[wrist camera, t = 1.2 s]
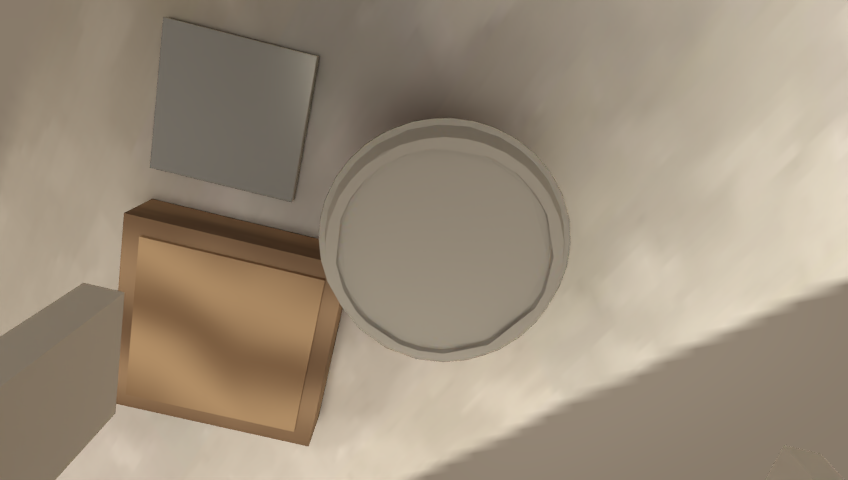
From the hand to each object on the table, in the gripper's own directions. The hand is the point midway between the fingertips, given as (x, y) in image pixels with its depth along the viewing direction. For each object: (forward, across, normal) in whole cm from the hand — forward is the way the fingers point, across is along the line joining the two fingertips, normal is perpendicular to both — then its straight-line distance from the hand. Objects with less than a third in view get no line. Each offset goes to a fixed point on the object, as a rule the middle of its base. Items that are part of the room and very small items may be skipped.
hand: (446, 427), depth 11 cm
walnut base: (+21, -10, -11) cm, 26 cm away
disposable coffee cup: (+22, 0, 0) cm, 22 cm away
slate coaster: (+22, -12, +1) cm, 25 cm away
